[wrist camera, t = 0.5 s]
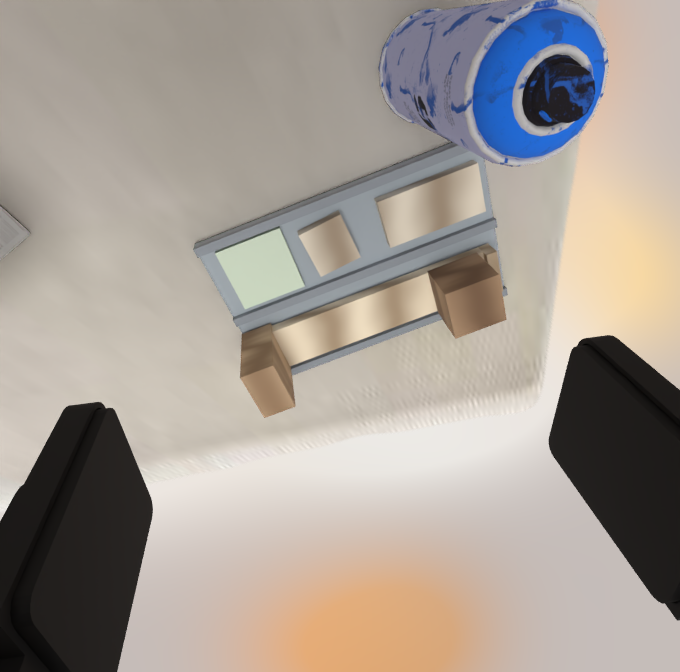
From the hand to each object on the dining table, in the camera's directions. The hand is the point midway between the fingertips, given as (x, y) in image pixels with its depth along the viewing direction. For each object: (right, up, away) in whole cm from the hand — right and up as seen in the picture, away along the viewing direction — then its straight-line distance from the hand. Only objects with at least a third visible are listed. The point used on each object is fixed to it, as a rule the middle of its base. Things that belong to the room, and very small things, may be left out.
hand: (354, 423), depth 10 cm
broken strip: (+4, +13, +33) cm, 35 cm away
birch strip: (+3, +4, +36) cm, 37 cm away
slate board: (+2, +8, +35) cm, 36 cm away
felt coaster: (-8, +8, +33) cm, 35 cm away
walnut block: (+11, +7, +35) cm, 37 cm away
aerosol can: (+7, +23, +27) cm, 36 cm away
